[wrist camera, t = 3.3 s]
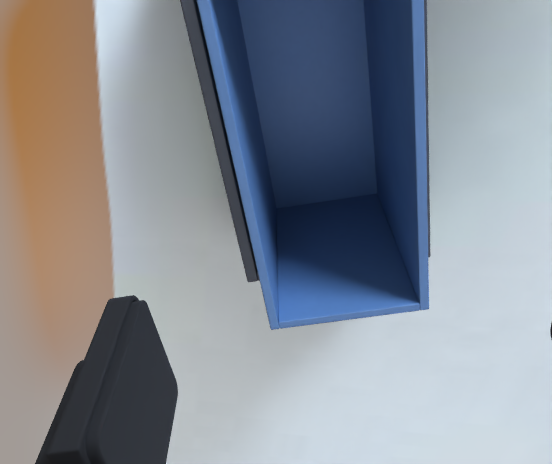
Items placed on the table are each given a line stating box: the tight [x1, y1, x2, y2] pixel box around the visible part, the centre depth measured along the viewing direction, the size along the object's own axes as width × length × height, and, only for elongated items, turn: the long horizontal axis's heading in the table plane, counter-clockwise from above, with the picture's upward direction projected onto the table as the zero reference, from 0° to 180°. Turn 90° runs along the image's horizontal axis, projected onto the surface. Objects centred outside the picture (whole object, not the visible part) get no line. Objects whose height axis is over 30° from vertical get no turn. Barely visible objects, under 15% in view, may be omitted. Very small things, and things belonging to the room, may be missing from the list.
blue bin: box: [197, 0, 429, 330], centre depth 24 cm, size 7×15×11 cm, turn 9°
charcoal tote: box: [180, 0, 430, 282], centre depth 27 cm, size 10×18×6 cm, turn 9°
